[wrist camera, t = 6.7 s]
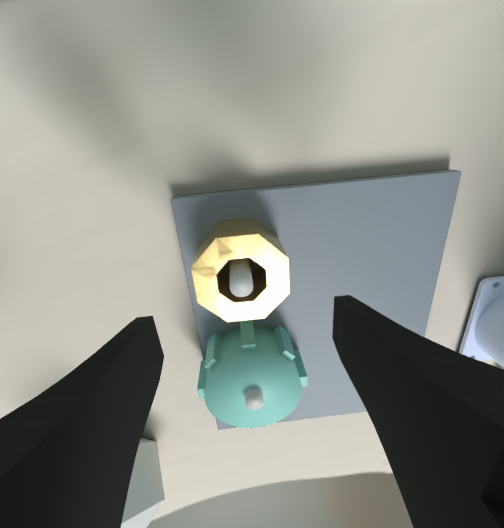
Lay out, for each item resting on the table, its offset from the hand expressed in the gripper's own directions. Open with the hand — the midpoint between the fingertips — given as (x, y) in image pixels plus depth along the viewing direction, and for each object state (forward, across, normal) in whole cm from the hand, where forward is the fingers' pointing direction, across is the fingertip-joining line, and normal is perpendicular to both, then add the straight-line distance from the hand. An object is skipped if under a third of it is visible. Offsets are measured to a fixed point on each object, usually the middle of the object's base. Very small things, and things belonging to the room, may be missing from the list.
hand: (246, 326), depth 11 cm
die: (+8, +13, +18) cm, 23 cm away
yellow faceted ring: (+7, 0, 0) cm, 7 cm away
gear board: (+8, -5, +6) cm, 11 cm away
